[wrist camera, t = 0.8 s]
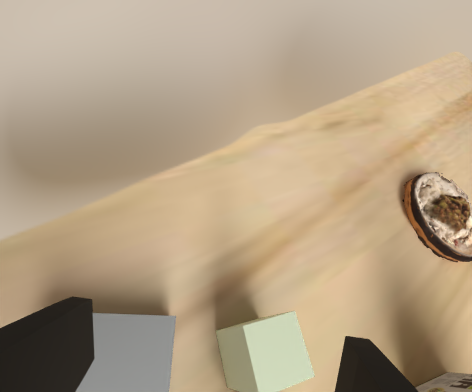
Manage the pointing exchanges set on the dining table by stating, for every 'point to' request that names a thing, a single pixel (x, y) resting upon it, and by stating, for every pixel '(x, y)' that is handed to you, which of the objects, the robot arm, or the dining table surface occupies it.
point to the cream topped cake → (440, 216)
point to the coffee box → (448, 383)
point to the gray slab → (130, 353)
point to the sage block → (264, 354)
